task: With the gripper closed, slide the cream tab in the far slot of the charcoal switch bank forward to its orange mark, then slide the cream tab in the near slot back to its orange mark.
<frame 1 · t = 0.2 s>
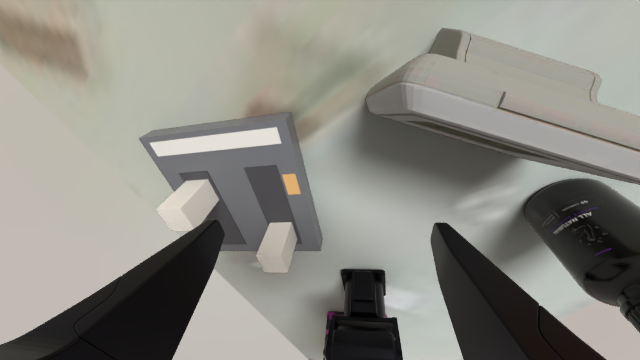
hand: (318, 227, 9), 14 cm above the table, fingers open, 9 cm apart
switch tab 1: (278, 246, 26), point 4 cm above the table, slide at 0.0 cm
digital clock: (461, 99, 19), on the table
switch bank: (247, 191, 28), on the table
supplement bottle: (559, 201, 24), on the table
switch tab 2: (190, 204, 24), point 4 cm above the table, slide at 7.0 cm
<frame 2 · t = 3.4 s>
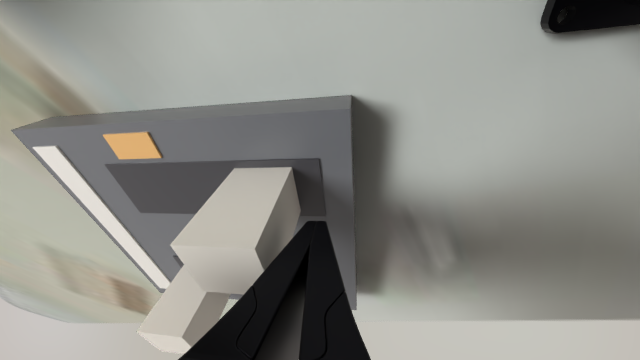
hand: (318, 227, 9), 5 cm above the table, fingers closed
switch tab 1: (251, 223, 10), point 4 cm above the table, slide at 0.4 cm, touching gripper
switch bank: (230, 216, 17), on the table
switch tab 2: (193, 304, 16), point 5 cm above the table, slide at 7.0 cm
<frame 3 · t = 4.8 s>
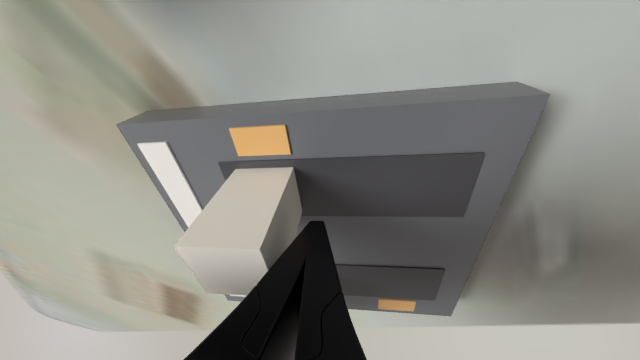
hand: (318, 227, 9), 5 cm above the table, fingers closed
switch tab 1: (254, 224, 10), point 4 cm above the table, slide at 7.2 cm, touching gripper
switch bank: (323, 218, 15), on the table
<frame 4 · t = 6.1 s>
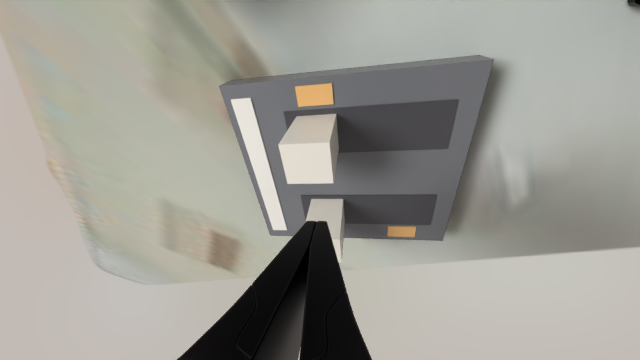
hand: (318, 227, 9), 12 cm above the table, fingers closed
switch tab 1: (313, 146, 16), point 4 cm above the table, slide at 7.1 cm
switch bank: (348, 162, 21), on the table
switch tab 2: (325, 228, 20), point 5 cm above the table, slide at 7.0 cm
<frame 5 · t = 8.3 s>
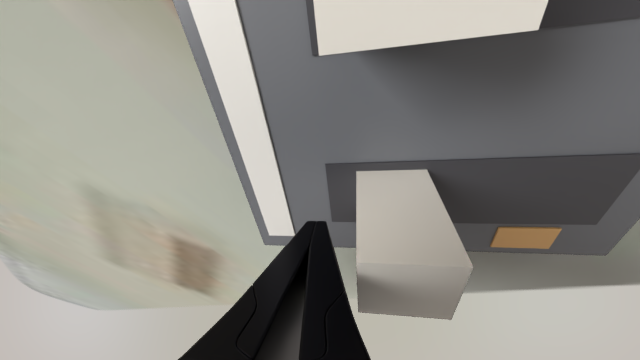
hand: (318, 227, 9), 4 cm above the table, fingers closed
switch bank: (426, 94, 10), on the table
switch tab 2: (396, 233, 9), point 4 cm above the table, slide at 6.6 cm, touching gripper
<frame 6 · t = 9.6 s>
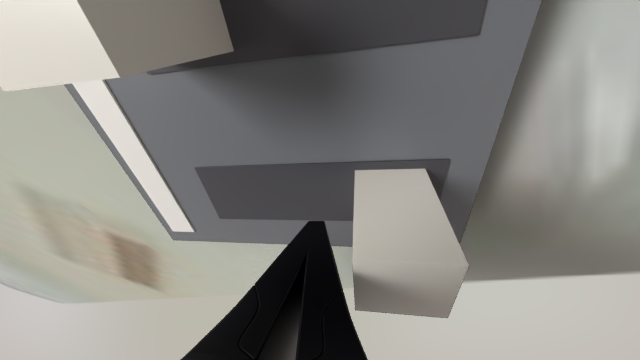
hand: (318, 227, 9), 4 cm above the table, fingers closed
switch tab 1: (119, 5, 6), point 5 cm above the table, slide at 7.1 cm
switch bank: (280, 105, 11), on the table
switch tab 2: (393, 232, 9), point 5 cm above the table, slide at -0.1 cm, touching gripper
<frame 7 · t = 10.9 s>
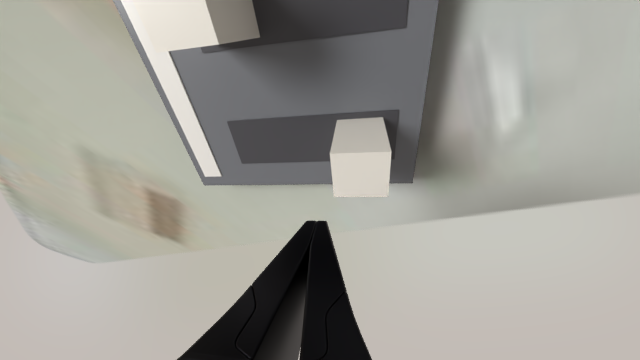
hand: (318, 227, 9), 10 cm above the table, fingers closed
switch tab 1: (204, 9, 11), point 5 cm above the table, slide at 7.1 cm
switch bank: (287, 77, 16), on the table
switch tab 2: (360, 154, 14), point 5 cm above the table, slide at -0.1 cm
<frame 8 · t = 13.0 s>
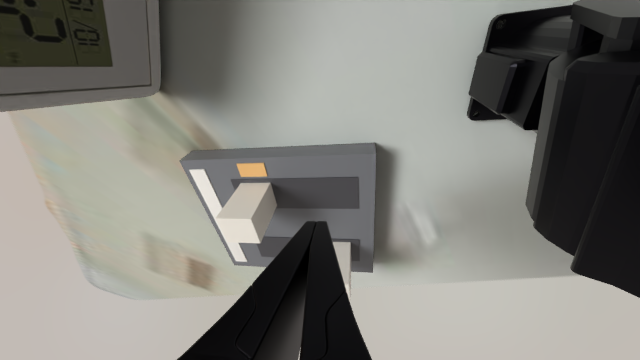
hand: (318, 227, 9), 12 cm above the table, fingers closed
switch tab 1: (249, 211, 20), point 4 cm above the table, slide at 7.1 cm
switch bank: (292, 210, 26), on the table
switch tab 2: (335, 269, 23), point 4 cm above the table, slide at -0.1 cm
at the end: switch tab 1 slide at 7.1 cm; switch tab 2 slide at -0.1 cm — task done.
